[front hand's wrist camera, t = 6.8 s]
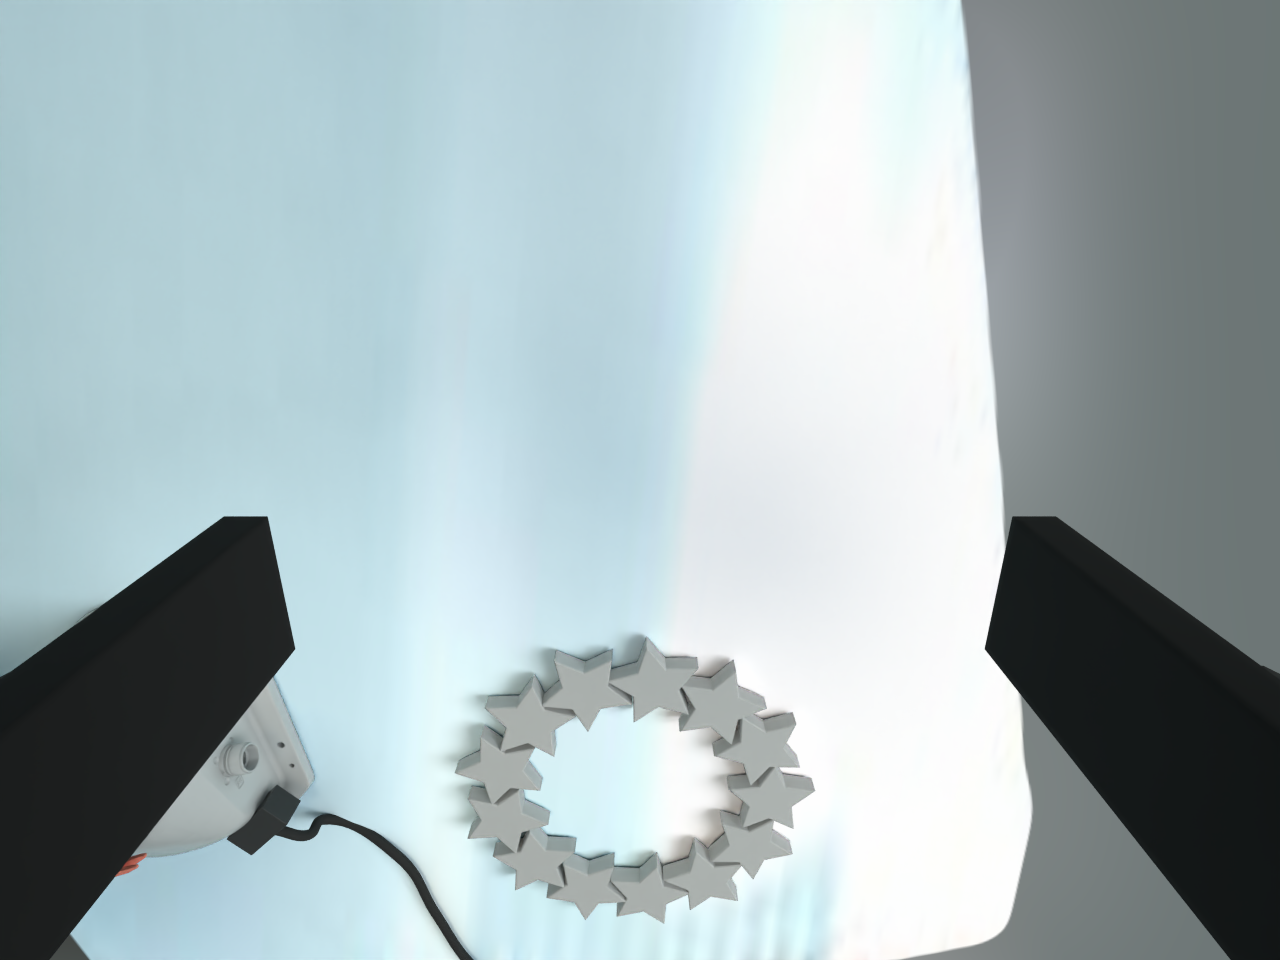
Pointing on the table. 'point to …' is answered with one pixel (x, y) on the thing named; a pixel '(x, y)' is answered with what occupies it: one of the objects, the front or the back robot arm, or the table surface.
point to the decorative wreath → (651, 688)
